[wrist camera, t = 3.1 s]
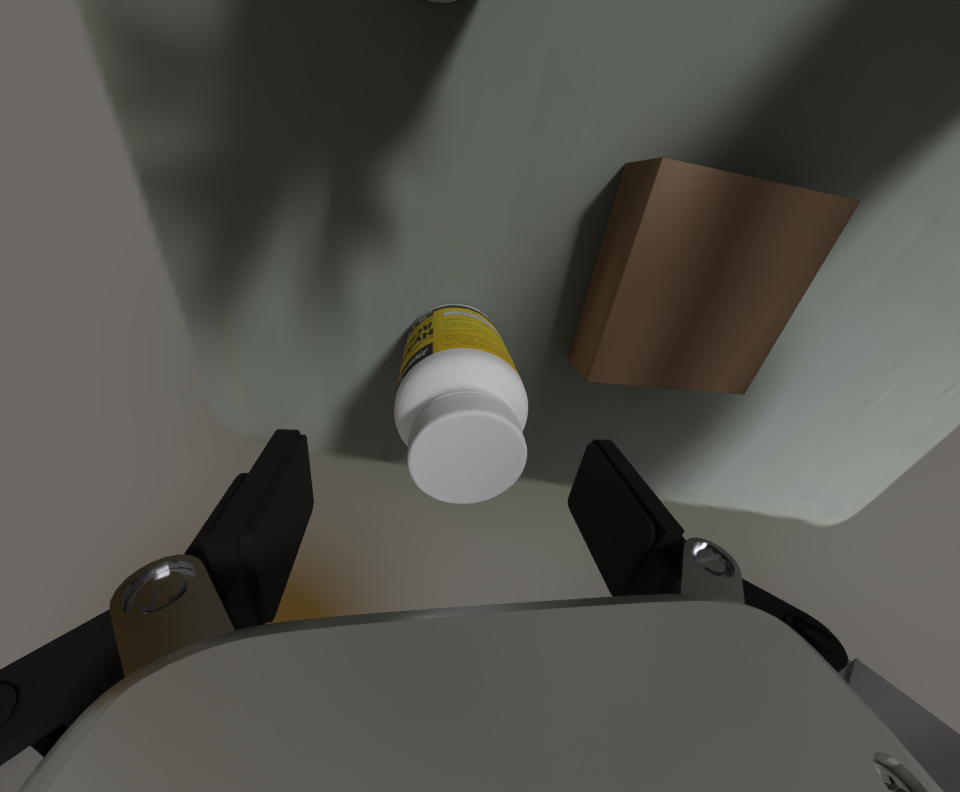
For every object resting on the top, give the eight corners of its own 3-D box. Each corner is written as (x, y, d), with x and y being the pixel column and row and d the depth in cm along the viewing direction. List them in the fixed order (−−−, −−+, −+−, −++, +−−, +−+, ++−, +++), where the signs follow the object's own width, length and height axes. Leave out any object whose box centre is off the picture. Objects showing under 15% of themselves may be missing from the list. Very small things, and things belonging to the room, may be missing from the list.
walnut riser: (798, 199, 18) (860, 200, 15) (708, 372, 23) (744, 394, 20) (625, 163, 16) (663, 157, 13) (567, 359, 21) (586, 381, 18)
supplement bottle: (419, 286, 18) (411, 368, 9) (514, 319, 19) (580, 415, 11) (394, 376, 20) (368, 506, 12) (480, 399, 21) (512, 529, 13)
